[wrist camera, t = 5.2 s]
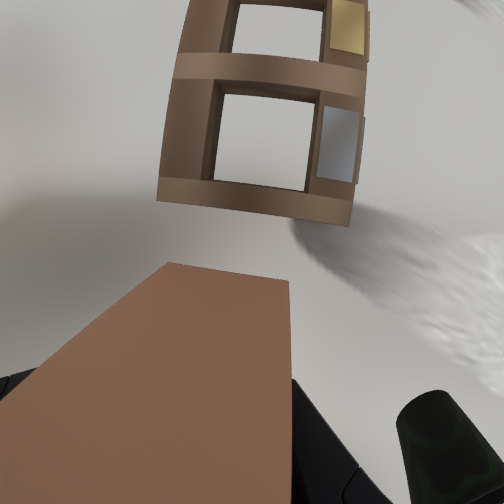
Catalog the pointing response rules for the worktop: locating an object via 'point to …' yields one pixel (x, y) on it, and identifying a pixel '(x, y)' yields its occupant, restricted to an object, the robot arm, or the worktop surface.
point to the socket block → (274, 86)
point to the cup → (447, 454)
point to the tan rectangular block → (161, 400)
